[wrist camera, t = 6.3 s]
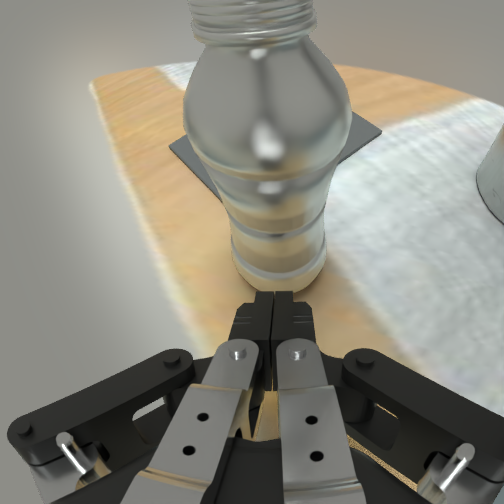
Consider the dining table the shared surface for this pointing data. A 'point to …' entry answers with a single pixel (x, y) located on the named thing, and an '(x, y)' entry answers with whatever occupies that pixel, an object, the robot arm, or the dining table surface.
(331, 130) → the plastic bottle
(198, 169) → the rubber mat
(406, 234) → the dining table surface
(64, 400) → the robot arm
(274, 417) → the dining table surface
